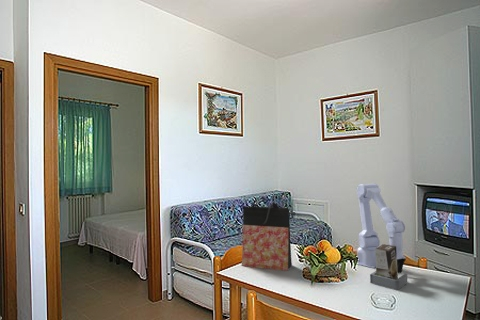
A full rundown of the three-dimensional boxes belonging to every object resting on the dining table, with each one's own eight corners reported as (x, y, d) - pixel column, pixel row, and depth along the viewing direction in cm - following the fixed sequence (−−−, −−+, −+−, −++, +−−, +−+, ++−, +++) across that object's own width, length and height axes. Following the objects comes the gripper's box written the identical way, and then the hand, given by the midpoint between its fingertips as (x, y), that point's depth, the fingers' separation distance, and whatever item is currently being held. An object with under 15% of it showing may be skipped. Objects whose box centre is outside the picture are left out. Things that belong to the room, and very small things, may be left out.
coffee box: (390, 287, 137) (388, 251, 137) (376, 283, 142) (374, 248, 142) (398, 280, 144) (396, 245, 143) (384, 276, 148) (382, 243, 148)
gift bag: (239, 267, 167) (238, 202, 167) (248, 259, 180) (247, 199, 181) (293, 273, 156) (292, 204, 157) (298, 264, 170) (297, 201, 170)
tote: (370, 283, 142) (370, 274, 142) (380, 276, 151) (380, 267, 151) (397, 290, 134) (397, 281, 134) (407, 282, 142) (407, 274, 142)
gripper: (399, 250, 141) (400, 280, 141) (409, 244, 151) (410, 272, 151) (383, 248, 146) (384, 276, 146) (394, 242, 156) (395, 269, 156)
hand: (396, 274), depth 149 cm, fingers open, 6 cm apart
